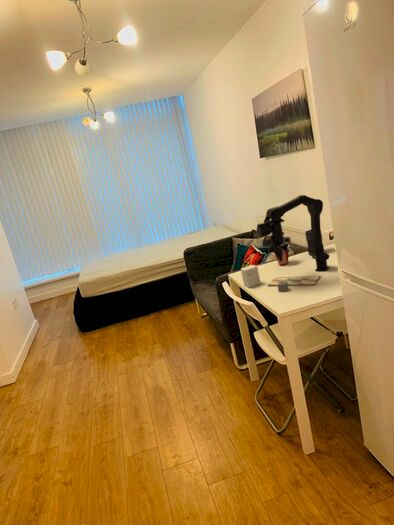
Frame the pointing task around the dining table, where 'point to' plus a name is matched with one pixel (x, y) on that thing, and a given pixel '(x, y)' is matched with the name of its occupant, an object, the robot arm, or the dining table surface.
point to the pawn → (283, 258)
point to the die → (283, 286)
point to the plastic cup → (286, 256)
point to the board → (295, 280)
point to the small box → (250, 276)
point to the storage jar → (308, 237)
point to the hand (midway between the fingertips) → (282, 259)
